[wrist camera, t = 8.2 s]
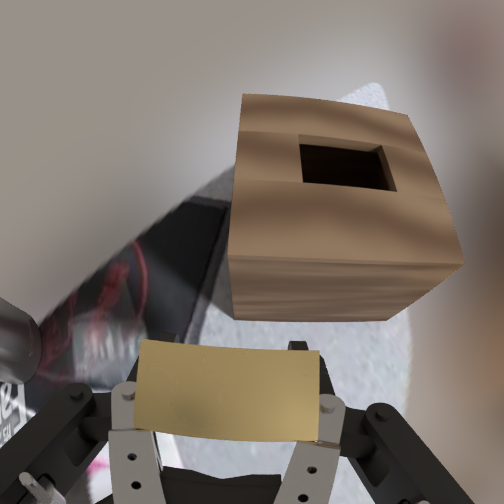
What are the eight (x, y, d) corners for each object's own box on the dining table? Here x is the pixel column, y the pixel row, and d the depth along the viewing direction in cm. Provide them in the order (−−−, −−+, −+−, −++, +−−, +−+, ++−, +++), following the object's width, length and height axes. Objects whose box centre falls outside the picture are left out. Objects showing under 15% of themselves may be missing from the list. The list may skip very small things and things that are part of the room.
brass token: (274, 417, 16) (317, 440, 7) (188, 412, 16) (133, 427, 7) (275, 375, 17) (319, 350, 8) (191, 370, 17) (141, 338, 8)
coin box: (386, 320, 29) (465, 263, 17) (234, 320, 29) (227, 254, 17) (366, 198, 37) (407, 115, 24) (242, 190, 37) (242, 93, 24)
